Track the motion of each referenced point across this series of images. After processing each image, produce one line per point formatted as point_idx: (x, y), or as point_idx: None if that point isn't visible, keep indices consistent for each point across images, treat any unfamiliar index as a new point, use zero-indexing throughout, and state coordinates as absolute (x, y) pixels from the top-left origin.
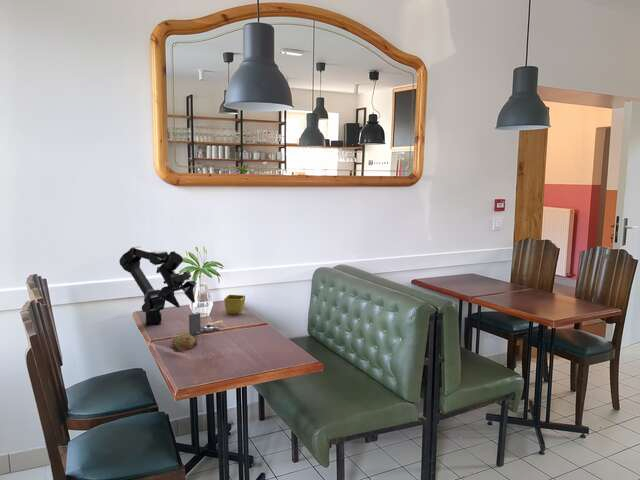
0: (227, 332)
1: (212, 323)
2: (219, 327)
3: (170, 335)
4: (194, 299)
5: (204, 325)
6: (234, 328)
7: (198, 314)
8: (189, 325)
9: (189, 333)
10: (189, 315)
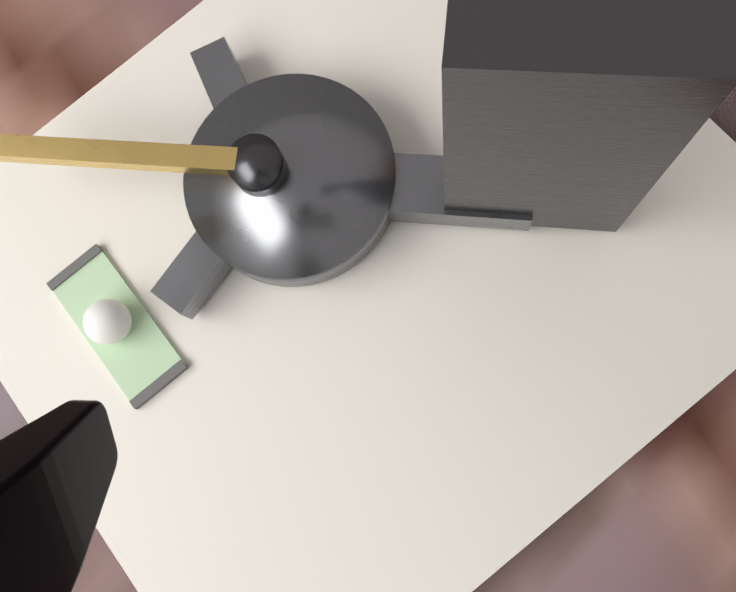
0: (178, 9)
1: (176, 155)
2: (199, 49)
3: (690, 562)
4: (18, 435)
5: (246, 263)
6: (15, 41)
7: (503, 10)
8: (657, 173)
9: (622, 221)
10: (733, 71)
